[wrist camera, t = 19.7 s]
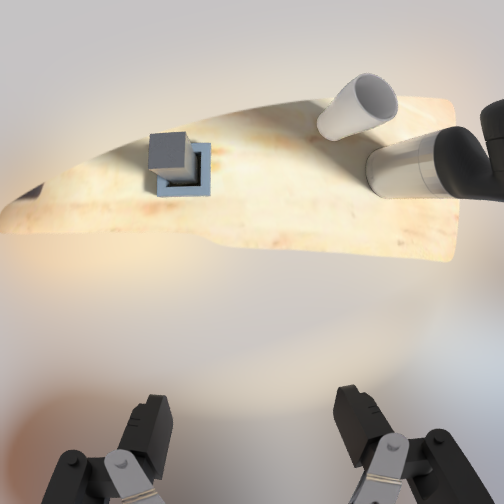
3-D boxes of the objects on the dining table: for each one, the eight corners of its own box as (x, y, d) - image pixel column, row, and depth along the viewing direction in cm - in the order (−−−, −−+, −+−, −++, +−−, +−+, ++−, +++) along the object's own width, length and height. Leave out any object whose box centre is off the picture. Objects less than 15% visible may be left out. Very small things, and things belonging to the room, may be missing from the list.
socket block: (211, 147, 39) (210, 142, 36) (210, 196, 40) (209, 194, 37) (162, 149, 38) (158, 144, 35) (161, 197, 39) (157, 196, 36)
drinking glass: (308, 108, 39) (347, 68, 25) (344, 109, 40) (392, 76, 25) (314, 146, 40) (358, 119, 26) (351, 146, 41) (403, 124, 26)
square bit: (198, 161, 39) (185, 131, 23) (197, 183, 39) (184, 167, 24) (175, 161, 38) (149, 134, 23) (174, 184, 39) (148, 169, 23)
